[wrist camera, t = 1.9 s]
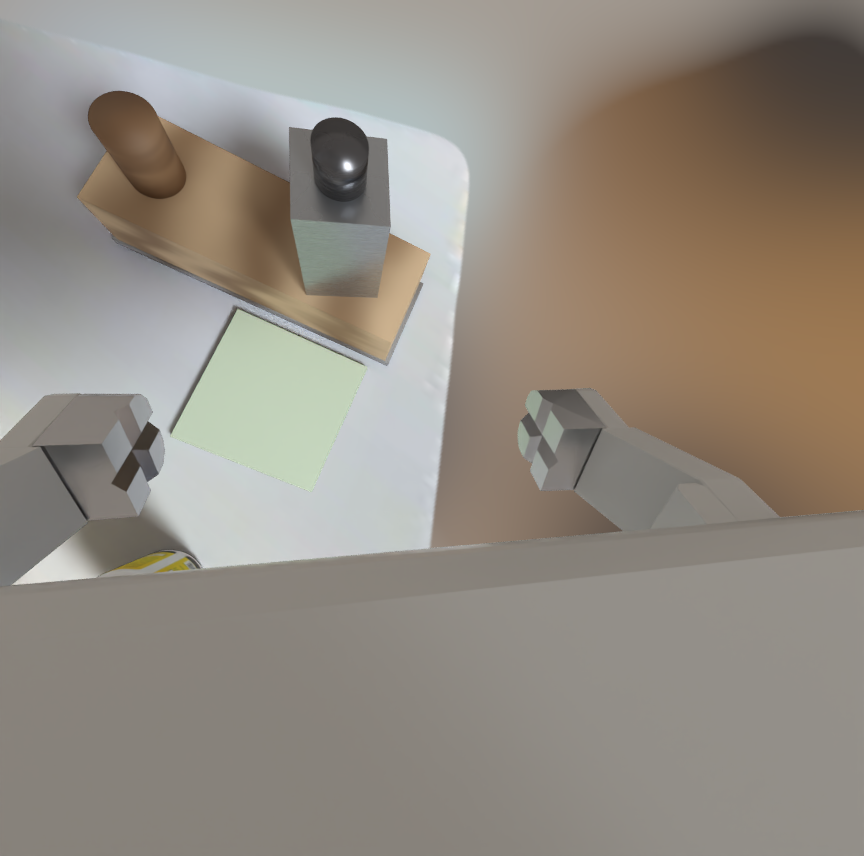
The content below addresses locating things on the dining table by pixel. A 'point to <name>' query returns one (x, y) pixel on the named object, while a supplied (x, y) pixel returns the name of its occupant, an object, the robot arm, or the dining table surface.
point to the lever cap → (339, 207)
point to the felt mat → (270, 401)
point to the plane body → (230, 226)
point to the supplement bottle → (156, 564)
